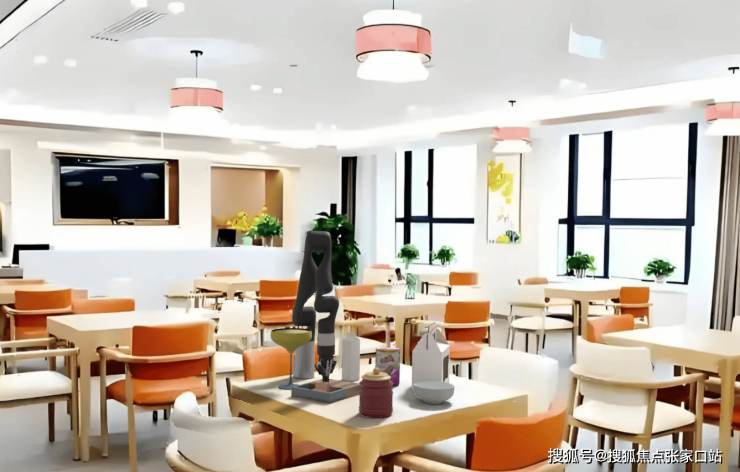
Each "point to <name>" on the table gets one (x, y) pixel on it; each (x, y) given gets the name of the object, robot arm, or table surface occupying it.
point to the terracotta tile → (322, 386)
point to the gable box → (431, 357)
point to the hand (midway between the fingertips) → (325, 384)
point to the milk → (350, 357)
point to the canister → (376, 395)
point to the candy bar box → (389, 362)
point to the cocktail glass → (290, 344)
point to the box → (317, 394)
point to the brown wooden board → (341, 387)
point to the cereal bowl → (433, 391)
